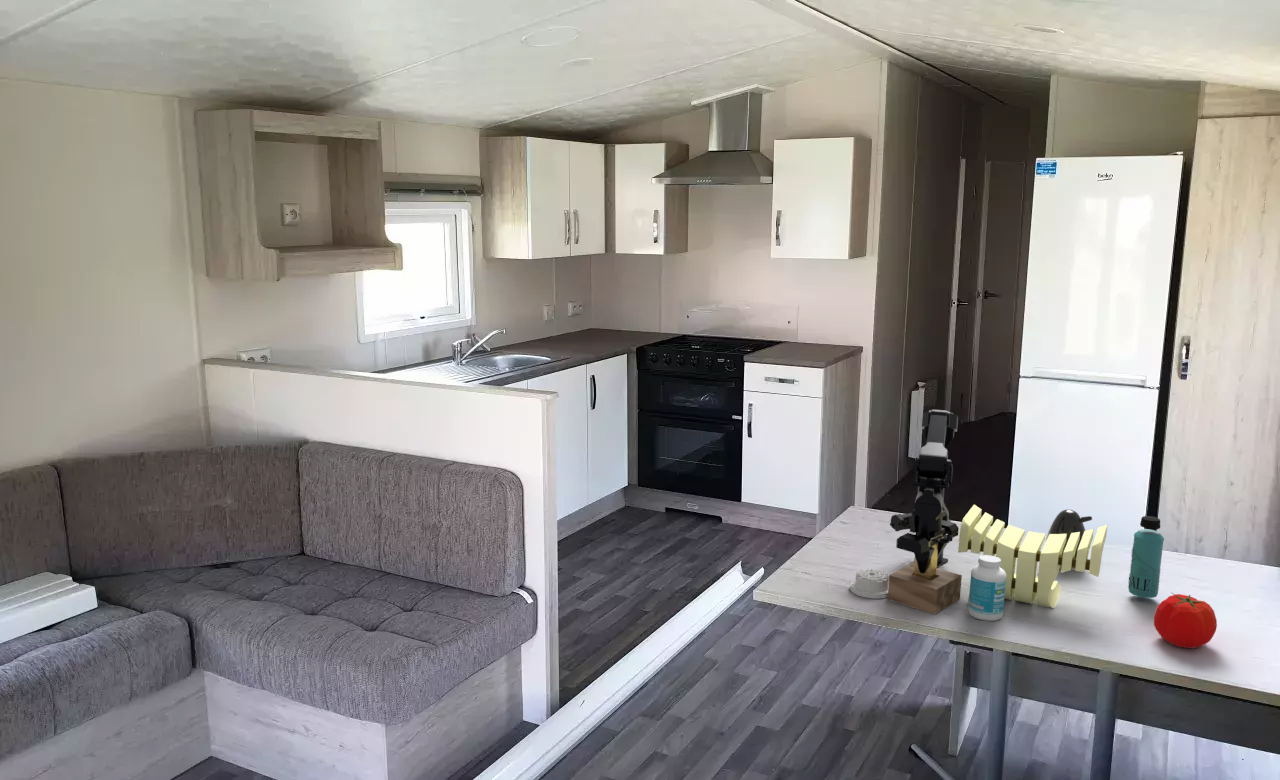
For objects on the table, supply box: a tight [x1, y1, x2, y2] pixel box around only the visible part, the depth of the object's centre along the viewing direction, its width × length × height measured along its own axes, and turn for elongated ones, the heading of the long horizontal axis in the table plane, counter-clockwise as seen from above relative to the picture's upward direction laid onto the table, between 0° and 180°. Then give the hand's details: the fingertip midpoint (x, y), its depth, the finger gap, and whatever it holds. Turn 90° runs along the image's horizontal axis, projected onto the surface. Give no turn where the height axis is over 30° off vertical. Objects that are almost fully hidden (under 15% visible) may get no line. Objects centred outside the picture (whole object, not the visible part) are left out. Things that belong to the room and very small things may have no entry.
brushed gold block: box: [914, 541, 938, 580], centre depth 224 cm, size 3×4×10 cm
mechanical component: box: [849, 568, 889, 599], centre depth 231 cm, size 10×4×10 cm
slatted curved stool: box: [957, 504, 1108, 609], centre depth 227 cm, size 30×16×18 cm, turn 60°
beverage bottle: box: [1128, 515, 1165, 599], centre depth 225 cm, size 6×7×20 cm
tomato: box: [1153, 592, 1218, 649], centre depth 203 cm, size 12×12×10 cm
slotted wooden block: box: [887, 561, 963, 615], centre depth 225 cm, size 12×12×6 cm
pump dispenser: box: [1044, 509, 1093, 571], centre depth 246 cm, size 10×10×15 cm
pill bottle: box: [967, 555, 1006, 622], centre depth 216 cm, size 8×7×14 cm
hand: (925, 571), depth 225 cm, fingers closed on brushed gold block, 3 cm apart
